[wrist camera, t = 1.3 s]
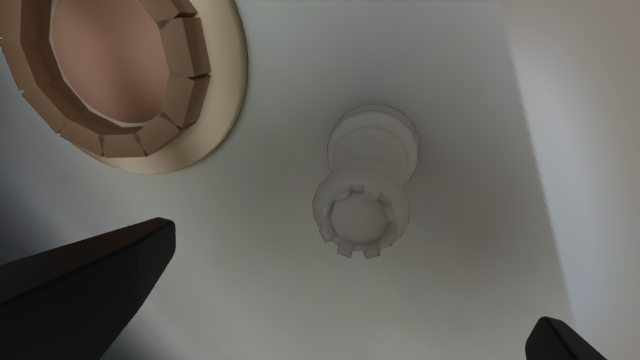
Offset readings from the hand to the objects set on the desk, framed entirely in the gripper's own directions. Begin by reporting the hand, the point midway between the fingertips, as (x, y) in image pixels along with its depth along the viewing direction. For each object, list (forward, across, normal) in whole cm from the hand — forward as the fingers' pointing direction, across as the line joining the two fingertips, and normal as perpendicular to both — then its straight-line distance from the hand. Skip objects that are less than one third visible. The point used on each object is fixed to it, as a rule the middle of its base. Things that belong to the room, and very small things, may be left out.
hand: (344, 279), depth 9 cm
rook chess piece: (+11, 0, 0) cm, 11 cm away
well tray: (+11, +13, -2) cm, 17 cm away
